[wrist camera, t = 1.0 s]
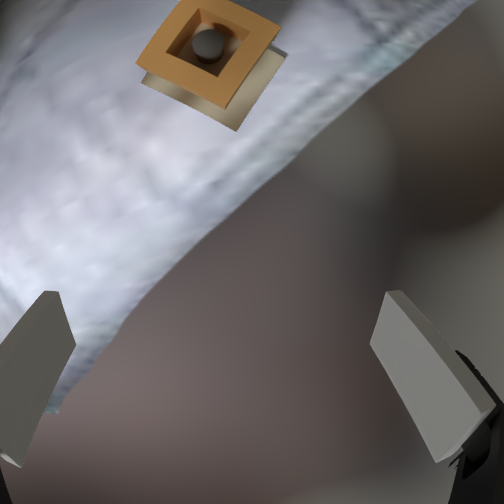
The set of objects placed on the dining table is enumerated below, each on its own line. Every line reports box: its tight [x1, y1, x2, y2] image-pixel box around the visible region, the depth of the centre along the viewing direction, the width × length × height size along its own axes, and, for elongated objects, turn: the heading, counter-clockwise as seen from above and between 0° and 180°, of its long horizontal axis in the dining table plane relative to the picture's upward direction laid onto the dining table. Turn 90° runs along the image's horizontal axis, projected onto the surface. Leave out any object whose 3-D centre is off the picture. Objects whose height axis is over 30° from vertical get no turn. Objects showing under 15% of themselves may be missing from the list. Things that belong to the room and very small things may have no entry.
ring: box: [136, 0, 281, 110], centre depth 18 cm, size 8×8×4 cm
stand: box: [141, 23, 285, 131], centre depth 22 cm, size 12×10×10 cm
